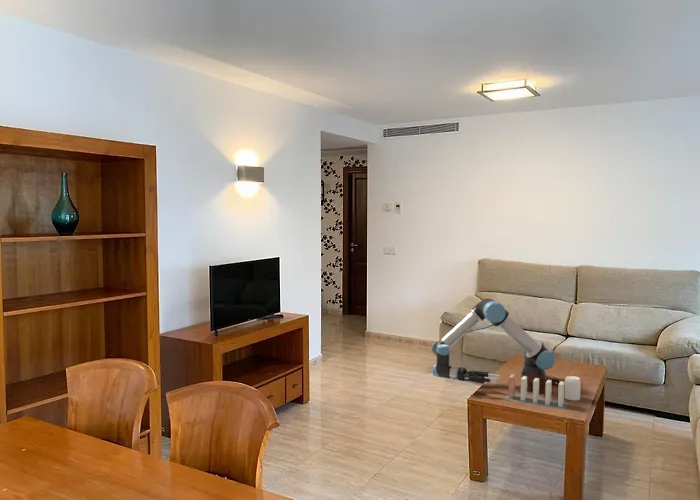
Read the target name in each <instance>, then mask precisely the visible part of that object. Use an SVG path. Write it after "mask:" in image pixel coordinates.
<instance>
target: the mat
mask: <svg viewBox="0 0 700 500" xmlns="http://www.w3.org/2000/svg"><path fill="white" fill-rule="evenodd" d="M503 400H504V401H508V402H515V403H522V404H526V405H532V406H539V407H545V408H552V409H557V410H563V411H566V408H567V406H568V405H569V404H570V402H568V401H564V404H563V406H562V407H558V399H557V400H555V399H551V403H550V404H549V405H546V404H545V397H544V398H543V397H539V400H538V402H537V403H534V402H533V395H527V398H526V399H525V401H522V400H521V394H518V393H515V396H514V397H513V399H510V398H509V393H507V395H506V396H505V397H504V398H503Z"/></svg>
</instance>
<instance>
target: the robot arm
mask: <svg viewBox="0 0 700 500" xmlns="http://www.w3.org/2000/svg"><path fill="white" fill-rule="evenodd" d="M485 319H486V320H487V321H489V322H490V323H491V324H492V326H494V328H495V327H498V328H500V329H501V330H502V331H503V332H504V333H505V334H506V335H507V336H508V337H509V338H510V339H511V340H512V341H514V342H515V344H516V345H518V346H519V347H520V348H521V350H523V360H524V361H523V368H522V369H521V371H520V379H521V378H522V377H523V376H526V377H528V376H529V375H532V374H539V375H542V376H543V377H545V378H546V379H547V373H546V371H545V370H550V369H551V368H553V367H554V365H555V364H556V355H555V354H554V352H552V351H551V350H550V349H548V348H547V347H546V346H545V344H544V342H543V341H535V339H533V337H531V335H530V334H528V333H527V332H526V331H525V330H524V329H523V328H522V327H521V326H520V325H519V324H518V323H517V322H515V321H514V320H513V319H512V318H511V317H510V313H509V311H508V310H506V308H505V307H504V305H502V303H500V302H499V301H495V300H494V299H492V298H484V299H481V300H480V301H479V302H478V303H476V305H474V306H473V307H472V308H471V309H470V312H469V313H468V314H467V315H466V316H465V317H463V319H462V320H460V321H459V322H458V323H457V324H456V325H455V326H454V327H452V328H451V330H449V331H447V333H446V334H445V335H443V337H442V338H440V339H439V340H438V341H435V342H433V343H432V344H431V350H432V353H433V355H435V357H436V363H434V364H433V366H432V371H431V372H432V375H433V376H434V377H436V378H440V379H441V378H442V379H450V380H453V381H455V380H456V381H457V380H458V381H462V382H465V381H470V382H476V383H481V384H485V383H490V384H497V381H500V380H501V375H500V374H496V373H495V374H494V373H490V372H489V371H479V370H475V369H474V370H473V369H472V370H469V371H468V370H467V368H466V367H459V366H453V365H450V357H451V356H450V354H451V350H450V348H451V347H452V346H454V345H455V344H456V343H457V342H458V341H459V340H460V339H461V338H462V337H464V336H465V335H466V334H467V333H469V331H470V330H472V329H473V328H474V327H475V326H476V325H477V324H478V323H479V322H482V321H484V320H485Z"/></svg>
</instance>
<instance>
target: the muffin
mask: <svg viewBox="0 0 700 500" xmlns="http://www.w3.org/2000/svg"><path fill="white" fill-rule="evenodd" d="M535 378H539V394H544V393H545V392H546V381H547V380H548V379H547V378H546V379H545V377H543V376H542V375H539V374H532V375H529V376H528V377H527V392H528V391H529V393H533V380H534V379H535Z"/></svg>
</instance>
